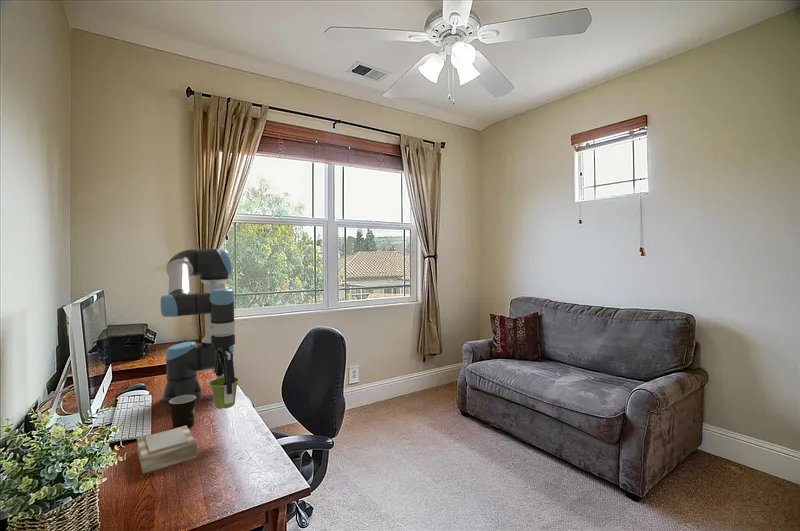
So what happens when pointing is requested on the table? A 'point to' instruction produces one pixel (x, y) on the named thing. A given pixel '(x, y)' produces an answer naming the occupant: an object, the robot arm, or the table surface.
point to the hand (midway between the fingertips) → (224, 398)
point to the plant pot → (222, 392)
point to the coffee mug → (183, 410)
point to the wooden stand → (166, 448)
